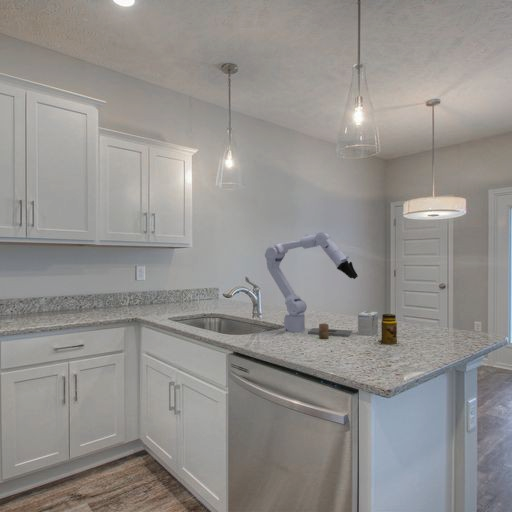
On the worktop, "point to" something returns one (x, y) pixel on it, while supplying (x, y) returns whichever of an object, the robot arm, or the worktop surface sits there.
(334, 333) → the hole plate
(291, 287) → the robot arm
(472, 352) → the worktop surface
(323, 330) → the peg
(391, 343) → the condiment
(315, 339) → the pad
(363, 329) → the light bulb box
